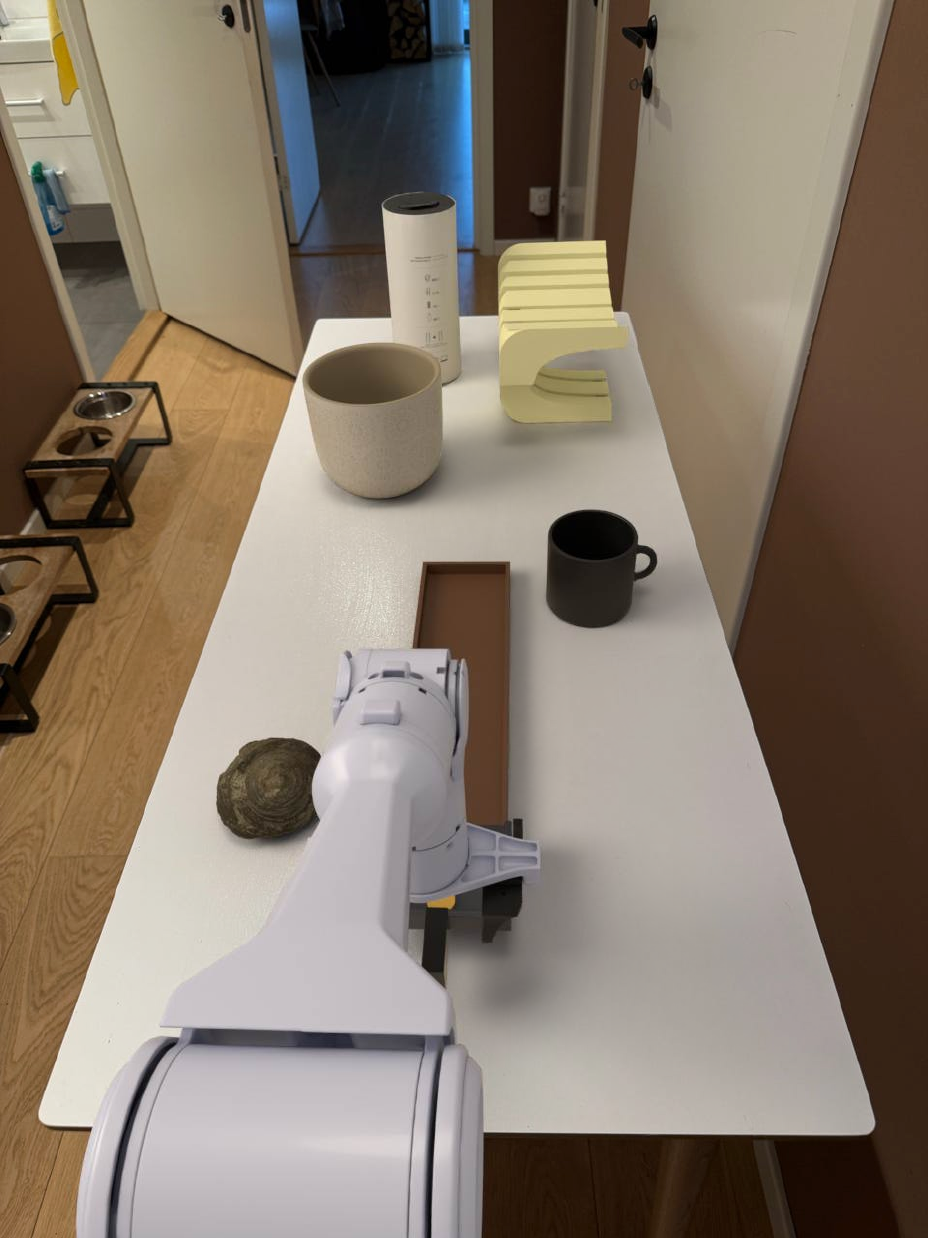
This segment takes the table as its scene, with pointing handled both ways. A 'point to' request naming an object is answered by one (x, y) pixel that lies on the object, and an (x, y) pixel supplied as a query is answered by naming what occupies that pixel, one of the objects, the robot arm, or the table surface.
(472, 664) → the tray
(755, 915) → the table surface
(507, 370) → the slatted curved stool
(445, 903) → the spoon
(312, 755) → the seashell
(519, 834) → the bracket
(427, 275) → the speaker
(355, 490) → the planter
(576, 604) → the mug
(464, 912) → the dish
